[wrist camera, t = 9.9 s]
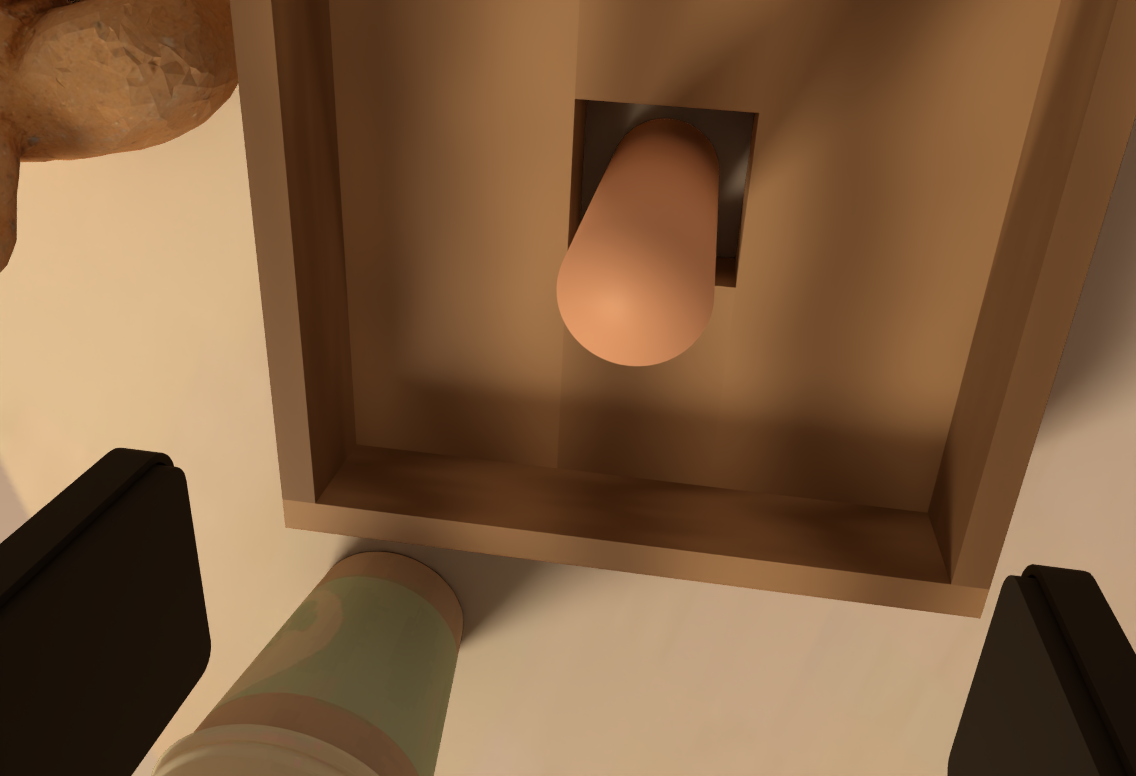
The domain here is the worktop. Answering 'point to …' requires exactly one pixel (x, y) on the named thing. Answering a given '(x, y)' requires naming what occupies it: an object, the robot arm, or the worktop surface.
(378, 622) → the coffee cup
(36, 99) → the figurine
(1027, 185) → the bore box
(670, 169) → the peg
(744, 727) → the worktop surface
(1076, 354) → the worktop surface
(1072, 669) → the robot arm
